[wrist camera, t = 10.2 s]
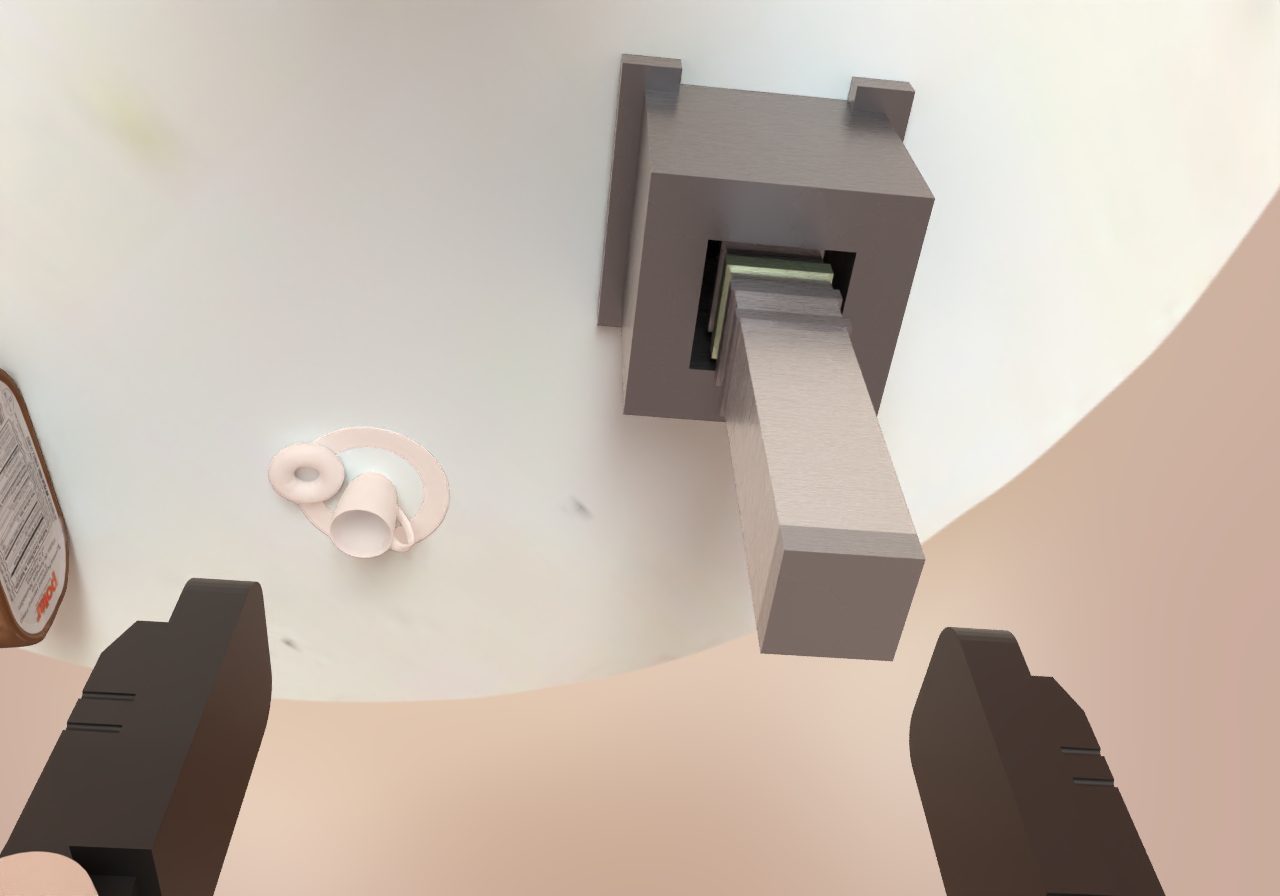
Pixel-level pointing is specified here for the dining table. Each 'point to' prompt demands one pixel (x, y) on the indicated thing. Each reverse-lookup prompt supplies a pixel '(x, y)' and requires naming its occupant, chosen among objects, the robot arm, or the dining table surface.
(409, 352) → the dining table surface
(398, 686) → the dining table surface
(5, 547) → the tin
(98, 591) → the dining table surface
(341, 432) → the teacup and saucer
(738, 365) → the column
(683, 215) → the housing
